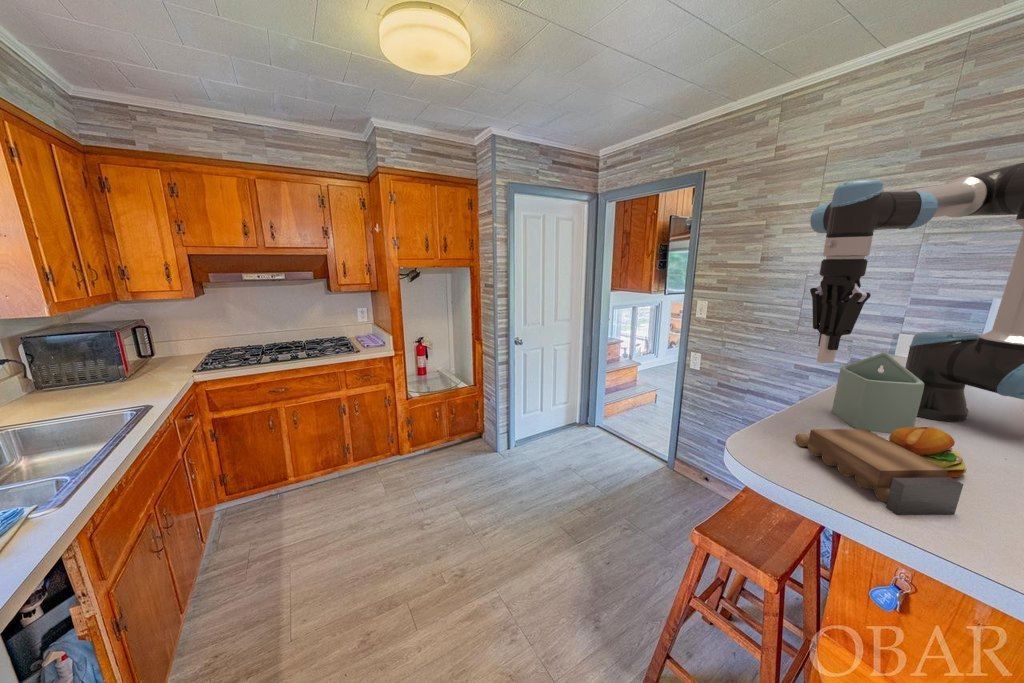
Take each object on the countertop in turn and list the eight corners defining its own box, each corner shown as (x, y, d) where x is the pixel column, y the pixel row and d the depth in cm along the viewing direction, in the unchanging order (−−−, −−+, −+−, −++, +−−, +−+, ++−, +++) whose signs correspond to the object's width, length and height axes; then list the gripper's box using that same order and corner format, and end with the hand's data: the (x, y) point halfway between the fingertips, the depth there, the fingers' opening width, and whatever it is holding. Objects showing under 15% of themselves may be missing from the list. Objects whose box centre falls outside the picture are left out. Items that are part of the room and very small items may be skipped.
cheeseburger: (979, 488, 71) (975, 440, 70) (901, 483, 77) (896, 439, 76) (954, 462, 79) (950, 419, 78) (886, 460, 85) (881, 419, 84)
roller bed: (827, 442, 89) (829, 430, 88) (932, 505, 66) (936, 490, 66) (794, 442, 89) (796, 431, 88) (888, 505, 66) (892, 490, 66)
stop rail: (941, 506, 66) (950, 477, 65) (954, 514, 64) (963, 484, 63) (885, 507, 66) (892, 477, 65) (896, 514, 64) (904, 484, 63)
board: (861, 443, 82) (864, 428, 81) (943, 487, 66) (948, 470, 66) (807, 443, 82) (810, 429, 81) (876, 487, 67) (880, 470, 66)
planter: (819, 417, 102) (832, 349, 98) (832, 411, 106) (845, 345, 101) (900, 442, 88) (920, 364, 84) (912, 434, 92) (931, 359, 87)
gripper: (804, 258, 86) (788, 355, 91) (854, 258, 73) (832, 371, 78) (836, 257, 86) (818, 354, 91) (892, 257, 73) (867, 370, 78)
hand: (825, 362), depth 85 cm, fingers closed
